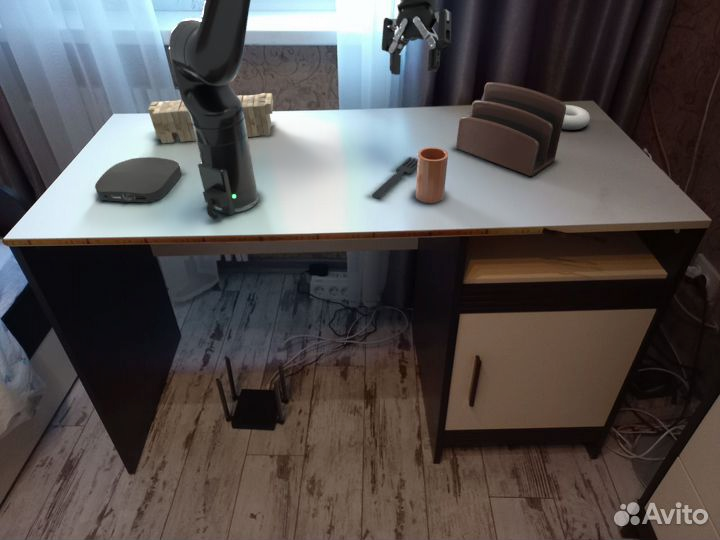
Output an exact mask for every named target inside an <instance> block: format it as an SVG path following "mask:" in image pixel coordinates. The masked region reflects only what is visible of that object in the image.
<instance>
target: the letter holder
mask: <svg viewBox="0 0 720 540" xmlns="http://www.w3.org/2000/svg"><path fill="white" fill-rule="evenodd" d="M483 95H484V97H483V96H482V97H483V101H482V100H481V99H476V100H474V101H473V102H471V103H472V104H471V109H470V116H461V117H460V118H459V120H458V126H457V127H458V128H457V134H456V142H455V149H457V150H460V151H462V152H465V153H467V154H470V155H472V156H475V157H477V158H480V159H483V160H486V161H488V162H492V163H494V164H496V165H499V166H502V167H504V168H508V169H510V170H513V171H515V172H518V173H520V174H523V175H526V176H527V177H528V176H529V177H531V178H532V177H533V176H535V175H537V174H538V173H539V172H540V171H542V170H544V169H545V168H547V166H549V165H551V164H552V163H554V161H555V160H556V156H557V152H558V148H559V142H560V139H561V138H560V137H561V133H562V130H563V129H562V125H563V121H564V117H565V112H566V105H567V104H566V103H565V102H563V101H562V100H560V99H558V98H555V97H553V96H550V95H549V94H546V93H543V92H541V91H536V90H534V89H531V88H527V87H523V86H517V85H514V84H509V83H503V82H493V81H489V82H486V84H485V85H484V90H483Z"/></svg>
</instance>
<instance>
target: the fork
mask: <svg viewBox="0 0 720 540" xmlns="http://www.w3.org/2000/svg"><path fill="white" fill-rule="evenodd" d="M417 164H418V158H417V159H416V158H415V157H411V156H409V158H407V159H406V160H405V161H403V162H402V164H401V165H399V166H398V167H396V169H395V171H396V172H397V173H394V174H392V175H391V177H390V178H389V179H387V180H386V181H385V182H384V183H383V184H382V185H381V186H380V187H379V188H377V190H375V191H374V192H373V193H372V195H371V196H372V198H376V199H379V200H381V199H382V198H383V197H384V196H385V195H387V193H388V192H389V191H390V190H391V189H393V188H394V186H395V185H397V184H398V183H399V182H400V181H401V180H402V179H403V177H404V175H408V176H411V175H412V174H413V173H414V172H415V171H416V170H417Z"/></svg>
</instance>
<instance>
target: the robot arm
mask: <svg viewBox="0 0 720 540" xmlns="http://www.w3.org/2000/svg"><path fill="white" fill-rule="evenodd" d="M250 6H251V0H205V1H204V5H203V10H202V15H201V18H200V19H199V18H185V19H183V20H181V21H180V22H179V23H177V24H176V25H175V26H174V27H173V29H172V31H171V33H170V36H169V41H168V51H169V52H168V53H169V58H170V63H171V66H172V70H173V74H174V76H175V81H176V84H177V88H178V92H179V95H180V98H181V100H182V101H183V103H184V105H185V107H186V109H187V110H188V112H189V114H190V117H191V121H192V125H193V129H194V133H195V137H196V141H195V142H196V145H197V149H198V153H199V157H200V161H201V162H199V163H198V164H197V168H198V172H199V177H200V180H201V184H202V187H203V191H202V194H203V195H202V196H203V198H204V199H203V200H204V203H206V213H207V215H208V216H209V217H210V218H211V219H213V220H214V221H216V220H217V219H219V216H218V214H216V213H215V212H214V211H217V212H219V213H223V214H225V215H227V216H233V215H235V214H236V213H242V212H245V211H247V210H248V211H249V210H250V209H252V208H253V207H254V206H256V205H257V204H258V202H259V200H260V195H259V191H258V188H257V182H256V175H255V171H254V165H253V159H252V153H251V147H250V142H249V137H248V135H247V129H246V124H245V118H244V112H243V107H242V103H241V101H240V99H239V98H238V97H237V96H238V95H237V94H236V93H235V91H234V89H233V88H232V87H231V85H230V83H232V82H233V81H234V79H235V78H236V77H237V75H238V73H239V71H240V68H241V65H242V63H243V57H244V53H245V52H244V51H245V45H246V36H247V29H248V19H249V14H250ZM396 7H397V12H398V13H397V16H396V18H390V17H384V18H383V22H382V24H383V25H382V38H381V51H384V52H387V53H388V54H389V71H390V74H391V75H394V76H399V75H401V66H402V65H401V63H402V61H401V60H402V54H401V53H402V51H403V49H404V48H405V47H406V46H408V44H409V42H414V41H417V40H422V41H423V40H425V42H426V43H427V44H428V46H429V48H430V49H429V50H428V60H427V71H428V72H429V73H437V72H438V69H439V68H440V63H441V52H442V49H443V48H445V47H450V46H451V44H452V12H451V11H449V10H448V9H445V8H440V9H439V11H437V10H436V8H437V7H438V0H396ZM436 22H437V24H438V34H437V33H436V31H435V29H434V26H435V24H436ZM213 210H214V211H213Z"/></svg>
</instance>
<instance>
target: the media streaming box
mask: <svg viewBox="0 0 720 540" xmlns="http://www.w3.org/2000/svg"><path fill="white" fill-rule="evenodd" d="M180 177H182V169H181V166H180V163H179V162H178V161H176V160H173V159H171V158H170V159H169V158H164V157H151V156H150V157H149V156H147V157H135V158H129V159H125V160H123V161H119V162H118V163H116V164H113V165H112V166H111V167H109V168H108V169H106V171H105V172H103V174H102V175H101V176H100V177H99V179H98V180H97V181H96V182H95V185H94V188H95V192H96V194H97V196H98V198H99V199H101V200H102V201H109V202H110V201H111V202H125V203H149V202H155V201H157V200H160V199H162V198H163V197H165V196H166V195H167V193H168V192H169V191H170V190H171V189H172V188H173V187H174V185H175V184H176V183H177V182H178V180H179V179H180Z"/></svg>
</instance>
